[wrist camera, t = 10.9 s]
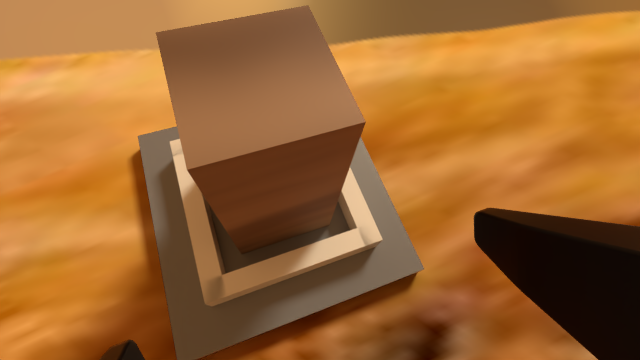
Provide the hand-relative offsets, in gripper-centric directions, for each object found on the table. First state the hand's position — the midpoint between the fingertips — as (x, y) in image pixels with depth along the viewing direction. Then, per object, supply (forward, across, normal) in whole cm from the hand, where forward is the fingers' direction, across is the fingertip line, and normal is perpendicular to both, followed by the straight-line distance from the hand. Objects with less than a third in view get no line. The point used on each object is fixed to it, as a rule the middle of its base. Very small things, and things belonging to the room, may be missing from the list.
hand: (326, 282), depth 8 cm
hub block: (+11, 0, +2) cm, 11 cm away
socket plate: (+12, 0, +3) cm, 12 cm away
